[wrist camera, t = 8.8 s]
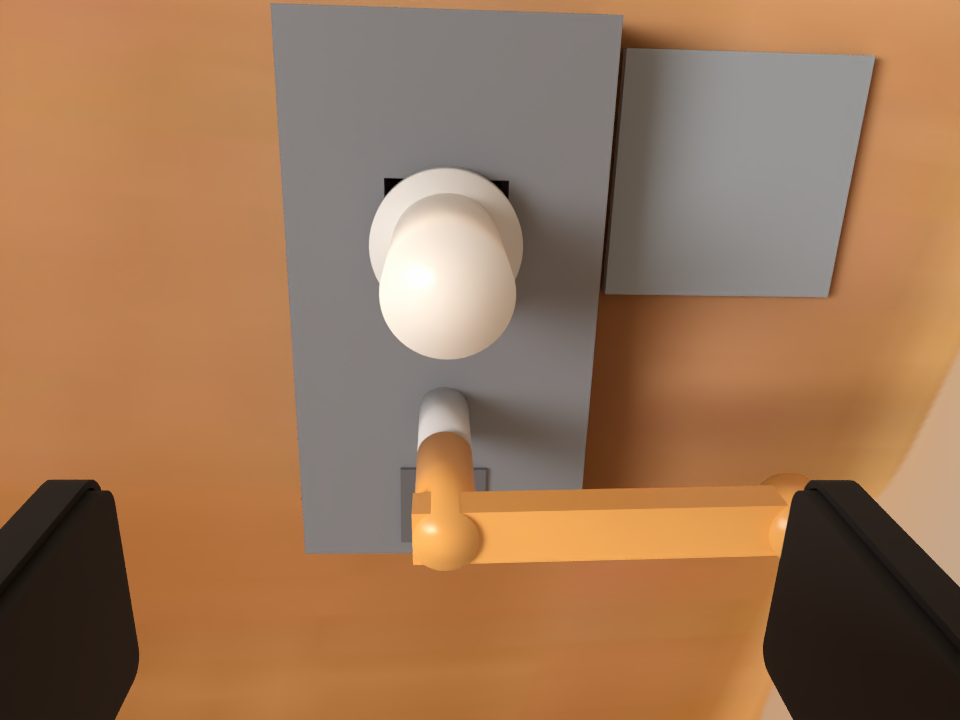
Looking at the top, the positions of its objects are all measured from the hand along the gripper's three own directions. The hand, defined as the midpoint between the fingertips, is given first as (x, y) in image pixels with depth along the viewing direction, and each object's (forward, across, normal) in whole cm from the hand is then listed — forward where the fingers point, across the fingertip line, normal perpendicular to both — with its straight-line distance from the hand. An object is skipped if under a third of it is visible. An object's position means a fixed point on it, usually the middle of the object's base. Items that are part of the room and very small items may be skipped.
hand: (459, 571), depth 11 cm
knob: (+24, 0, 0) cm, 24 cm away
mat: (+24, -12, -2) cm, 27 cm away
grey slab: (+24, 0, +3) cm, 24 cm away
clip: (+16, -5, +7) cm, 18 cm away
